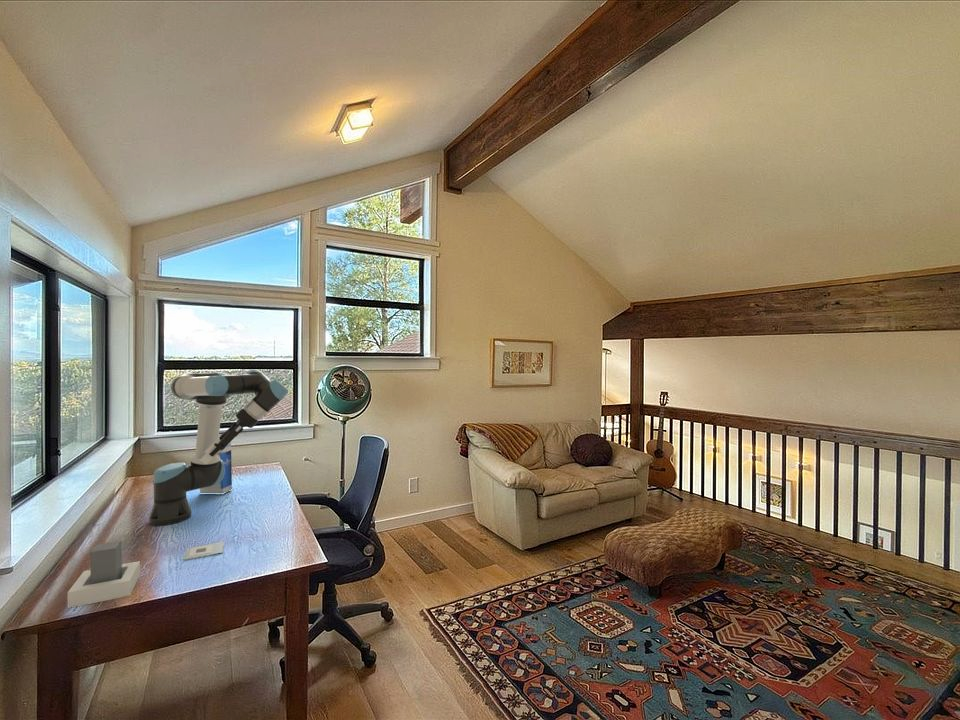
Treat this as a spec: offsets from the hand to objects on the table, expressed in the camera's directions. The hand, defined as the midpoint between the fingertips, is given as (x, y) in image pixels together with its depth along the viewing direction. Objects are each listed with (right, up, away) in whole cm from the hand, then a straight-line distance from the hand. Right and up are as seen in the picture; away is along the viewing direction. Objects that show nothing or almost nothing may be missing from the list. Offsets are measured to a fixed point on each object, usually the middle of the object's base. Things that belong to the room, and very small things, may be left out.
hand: (205, 458), depth 159 cm
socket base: (-14, -34, -26) cm, 45 cm away
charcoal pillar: (-14, -33, -26) cm, 44 cm away
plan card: (0, -34, 0) cm, 34 cm away
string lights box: (-37, -33, +68) cm, 84 cm away
